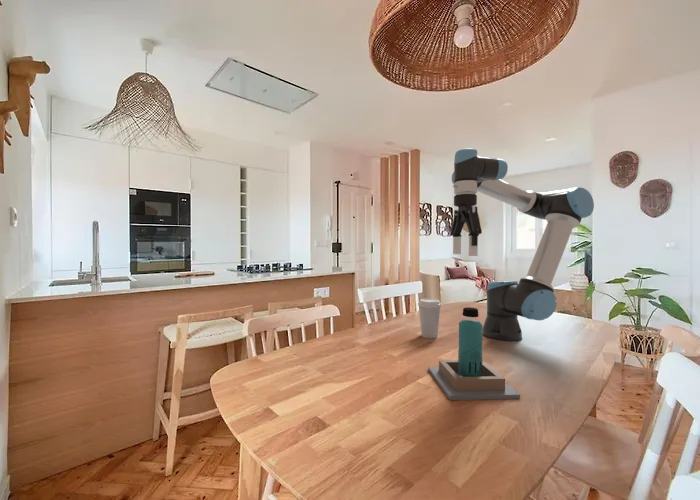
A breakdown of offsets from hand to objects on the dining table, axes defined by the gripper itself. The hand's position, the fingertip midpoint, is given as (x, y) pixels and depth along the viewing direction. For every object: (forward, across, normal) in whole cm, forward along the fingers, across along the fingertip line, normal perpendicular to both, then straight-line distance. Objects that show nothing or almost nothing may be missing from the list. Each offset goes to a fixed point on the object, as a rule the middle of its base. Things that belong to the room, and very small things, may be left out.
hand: (464, 255), depth 110 cm
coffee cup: (+35, -20, -6) cm, 41 cm away
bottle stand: (+35, +24, -8) cm, 43 cm away
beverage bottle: (+34, +24, -8) cm, 42 cm away
